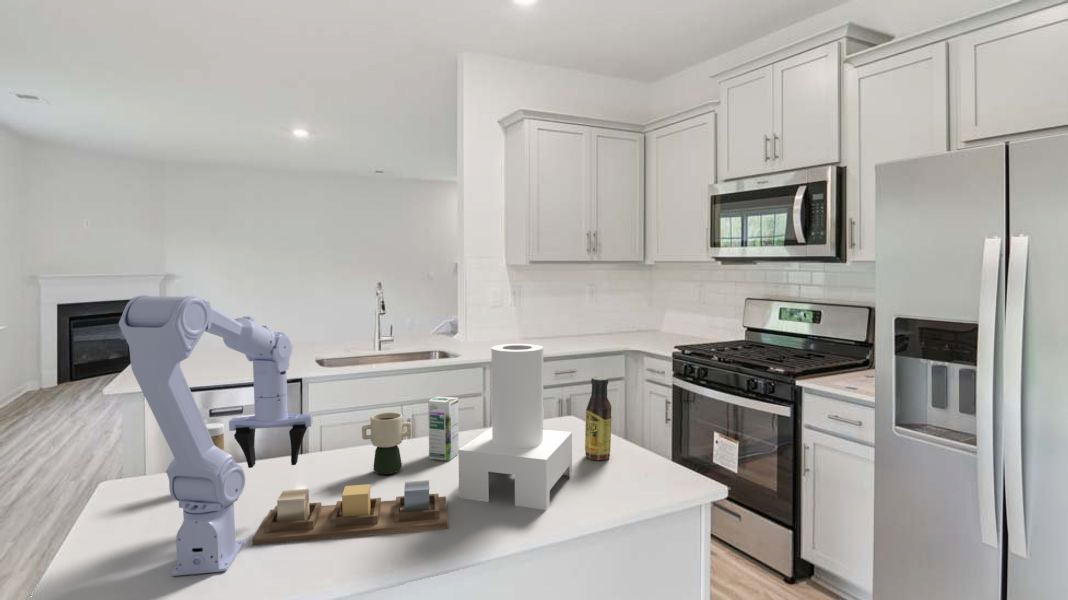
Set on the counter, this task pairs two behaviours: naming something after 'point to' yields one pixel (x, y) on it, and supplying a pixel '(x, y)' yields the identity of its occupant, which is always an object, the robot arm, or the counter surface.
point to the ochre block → (356, 500)
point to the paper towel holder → (516, 433)
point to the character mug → (386, 440)
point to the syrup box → (443, 428)
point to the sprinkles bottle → (216, 434)
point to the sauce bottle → (598, 421)
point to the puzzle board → (325, 522)
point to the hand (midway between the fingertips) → (273, 464)
